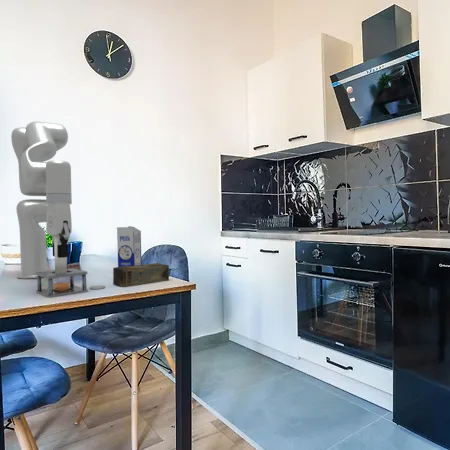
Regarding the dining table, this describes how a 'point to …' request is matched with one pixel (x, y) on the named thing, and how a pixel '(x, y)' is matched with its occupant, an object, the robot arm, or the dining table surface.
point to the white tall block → (59, 262)
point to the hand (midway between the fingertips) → (60, 256)
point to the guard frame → (51, 274)
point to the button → (61, 286)
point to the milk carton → (129, 246)
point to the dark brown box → (140, 274)
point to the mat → (96, 287)
